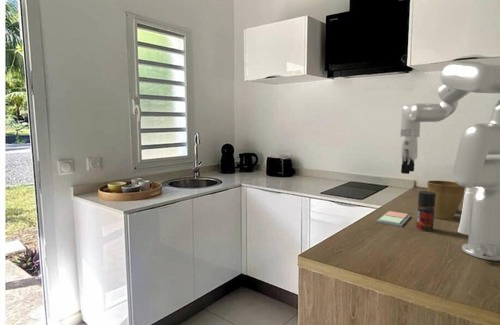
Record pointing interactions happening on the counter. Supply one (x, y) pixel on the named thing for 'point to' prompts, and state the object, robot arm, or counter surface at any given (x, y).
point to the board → (394, 218)
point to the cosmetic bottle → (466, 211)
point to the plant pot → (446, 198)
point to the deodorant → (425, 210)
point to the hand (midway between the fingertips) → (407, 172)
